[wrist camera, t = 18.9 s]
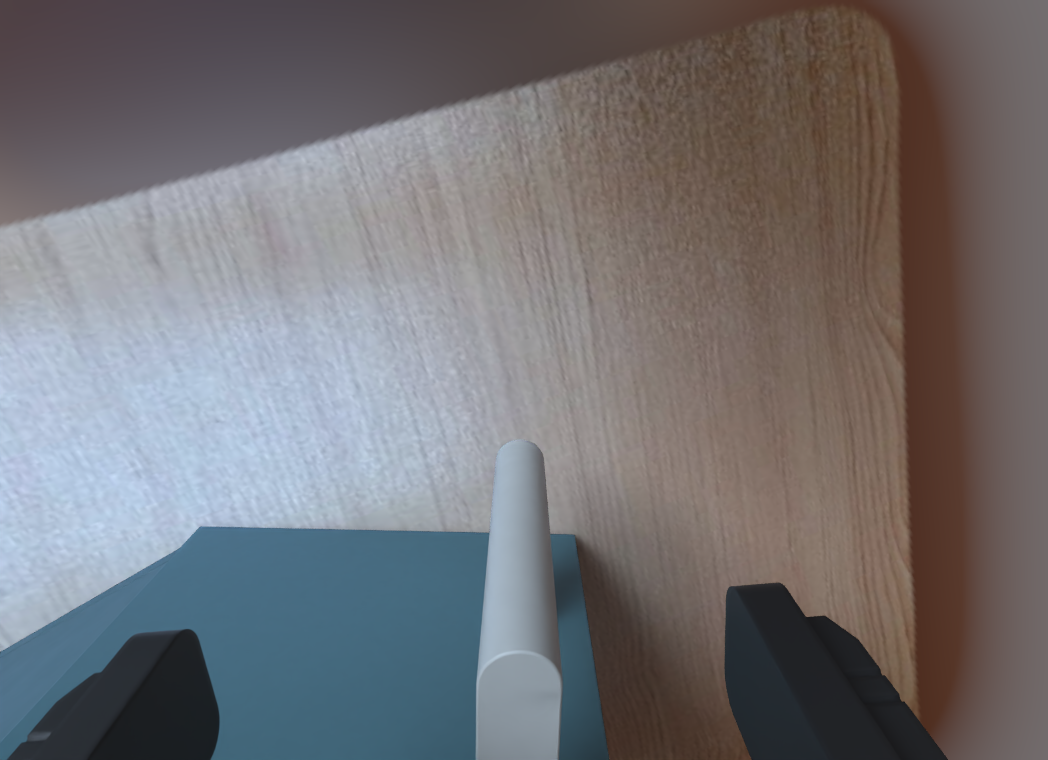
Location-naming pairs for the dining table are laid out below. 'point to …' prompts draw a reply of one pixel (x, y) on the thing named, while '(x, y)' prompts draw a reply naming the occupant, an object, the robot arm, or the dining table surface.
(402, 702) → the cupboard door
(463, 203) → the dining table surface
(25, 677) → the cupboard
